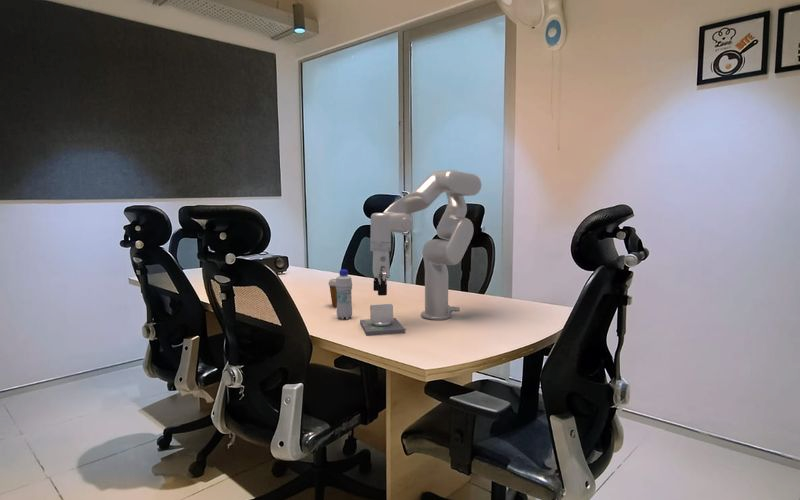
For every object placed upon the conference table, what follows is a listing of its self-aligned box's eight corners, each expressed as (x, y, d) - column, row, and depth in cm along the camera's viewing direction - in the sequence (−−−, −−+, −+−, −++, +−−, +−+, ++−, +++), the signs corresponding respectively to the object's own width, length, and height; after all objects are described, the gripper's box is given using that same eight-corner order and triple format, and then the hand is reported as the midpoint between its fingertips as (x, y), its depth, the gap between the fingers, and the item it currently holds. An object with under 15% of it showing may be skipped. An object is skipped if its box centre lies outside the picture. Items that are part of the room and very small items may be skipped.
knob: (394, 325, 176) (394, 306, 176) (365, 327, 174) (365, 308, 173) (390, 320, 183) (390, 302, 182) (363, 322, 181) (362, 304, 180)
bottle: (349, 320, 191) (349, 270, 188) (333, 319, 192) (332, 270, 190) (354, 316, 197) (354, 268, 195) (339, 315, 198) (338, 267, 196)
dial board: (395, 321, 189) (395, 317, 189) (405, 333, 172) (405, 328, 172) (360, 323, 186) (360, 319, 186) (366, 335, 169) (366, 331, 169)
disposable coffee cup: (348, 308, 211) (348, 281, 210) (327, 308, 211) (326, 282, 210) (351, 304, 221) (350, 278, 219) (330, 304, 221) (330, 278, 219)
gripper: (395, 248, 168) (394, 297, 170) (386, 244, 185) (385, 288, 186) (374, 248, 167) (373, 297, 168) (366, 244, 183) (366, 289, 185)
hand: (379, 292), depth 177 cm, fingers open, 9 cm apart
